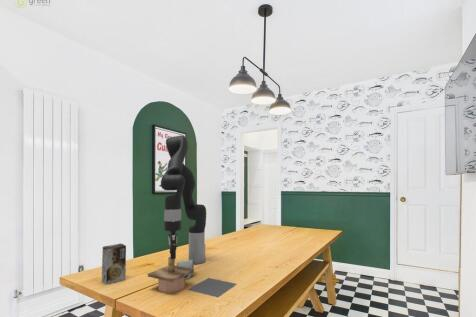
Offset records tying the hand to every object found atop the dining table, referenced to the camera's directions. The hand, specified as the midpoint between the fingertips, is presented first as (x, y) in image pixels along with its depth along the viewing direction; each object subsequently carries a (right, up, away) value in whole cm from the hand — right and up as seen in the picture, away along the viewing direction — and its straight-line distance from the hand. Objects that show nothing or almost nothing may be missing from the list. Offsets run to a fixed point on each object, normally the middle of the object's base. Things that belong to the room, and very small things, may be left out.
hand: (172, 256), depth 120 cm
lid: (0, -8, -1) cm, 8 cm away
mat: (+18, -14, -1) cm, 23 cm away
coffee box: (-30, -15, +9) cm, 35 cm away
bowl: (0, -14, -1) cm, 14 cm away
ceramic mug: (+3, -15, +12) cm, 20 cm away
